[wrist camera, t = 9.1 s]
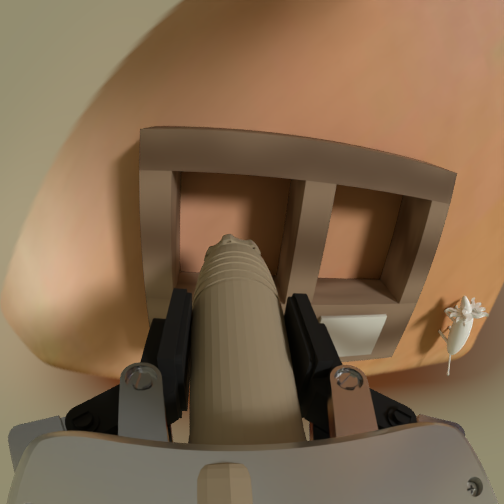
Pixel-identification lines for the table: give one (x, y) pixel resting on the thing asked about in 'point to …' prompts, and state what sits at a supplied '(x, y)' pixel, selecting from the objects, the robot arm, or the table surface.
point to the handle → (238, 366)
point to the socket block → (300, 224)
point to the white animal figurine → (461, 324)
